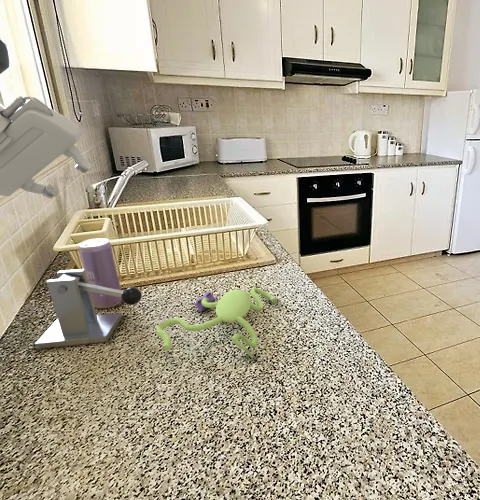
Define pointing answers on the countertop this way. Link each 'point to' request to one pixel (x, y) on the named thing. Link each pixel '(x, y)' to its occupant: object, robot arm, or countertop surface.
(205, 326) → the figurine
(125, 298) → the faucet lever
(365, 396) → the countertop surface
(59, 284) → the bracket
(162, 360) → the countertop surface
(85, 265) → the beverage can
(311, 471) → the countertop surface
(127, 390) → the countertop surface
